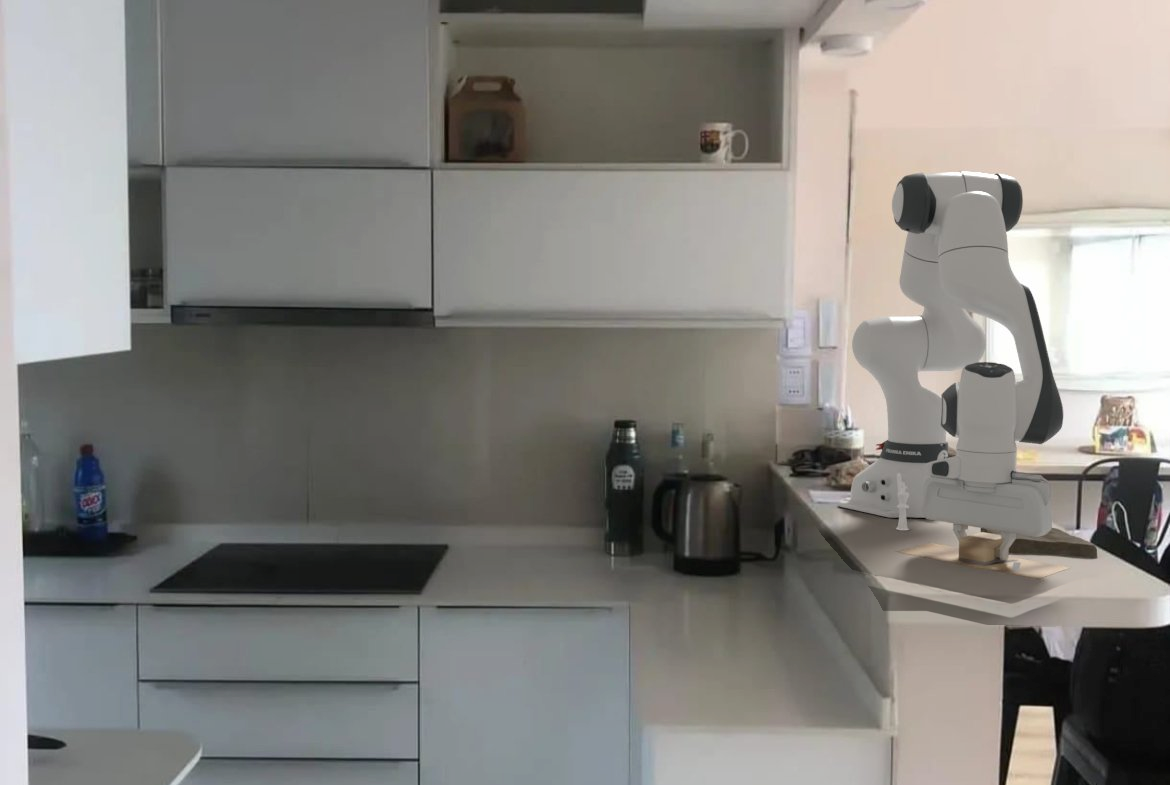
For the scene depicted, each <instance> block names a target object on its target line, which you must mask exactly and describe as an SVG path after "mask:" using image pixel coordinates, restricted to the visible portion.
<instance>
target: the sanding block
mask: <svg viewBox="0 0 1170 785" xmlns="http://www.w3.org/2000/svg"><path fill="white" fill-rule="evenodd" d="M1004 539H1005V538H1004ZM1004 539H1003V538H1001V535H997V534H991V533H985V532H981V531H980V532H977V533H974V534H971V535H967V536H966V537H962V538H959V541H958V548H959V561H964V562H969V563H974V564H980V565H988V564H991V563H995V562H998V561H1001V560H999V559H995V558H994V554H995V553H994V548H996V547H999V546H1001V544H1002V543H1003V541H1004Z"/></svg>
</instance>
